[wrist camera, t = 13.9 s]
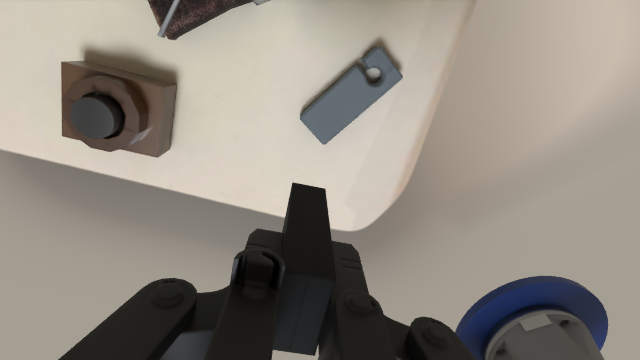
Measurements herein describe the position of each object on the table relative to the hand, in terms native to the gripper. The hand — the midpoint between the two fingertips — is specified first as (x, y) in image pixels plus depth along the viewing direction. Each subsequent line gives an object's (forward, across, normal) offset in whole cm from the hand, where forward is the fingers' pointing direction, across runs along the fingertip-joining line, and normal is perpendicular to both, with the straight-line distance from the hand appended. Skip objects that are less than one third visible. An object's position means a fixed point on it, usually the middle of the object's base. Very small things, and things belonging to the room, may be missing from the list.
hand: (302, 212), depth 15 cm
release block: (+22, -18, -2) cm, 28 cm away
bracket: (+22, +4, +4) cm, 23 cm away
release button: (+17, -18, -2) cm, 25 cm away
